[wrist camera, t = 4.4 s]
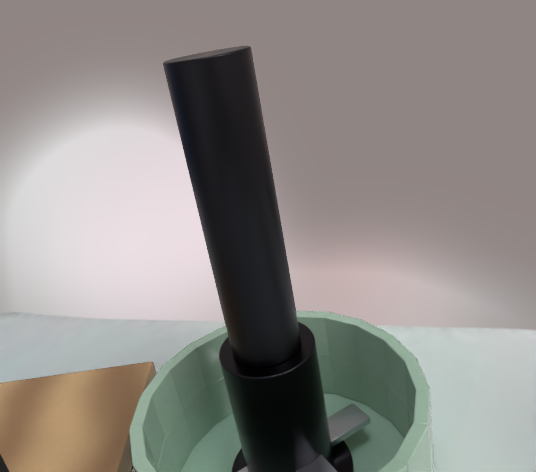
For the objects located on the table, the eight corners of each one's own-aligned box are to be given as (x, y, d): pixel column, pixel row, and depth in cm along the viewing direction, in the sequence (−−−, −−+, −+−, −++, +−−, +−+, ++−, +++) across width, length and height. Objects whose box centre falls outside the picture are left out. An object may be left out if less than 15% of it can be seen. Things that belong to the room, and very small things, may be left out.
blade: (259, 617, 19) (107, 86, 11) (177, 465, 27) (50, 80, 19) (428, 491, 23) (401, 21, 15) (315, 388, 30) (257, 37, 23)
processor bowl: (135, 653, 20) (88, 551, 17) (185, 408, 32) (161, 329, 29) (481, 616, 19) (481, 504, 16) (396, 380, 31) (389, 295, 28)
